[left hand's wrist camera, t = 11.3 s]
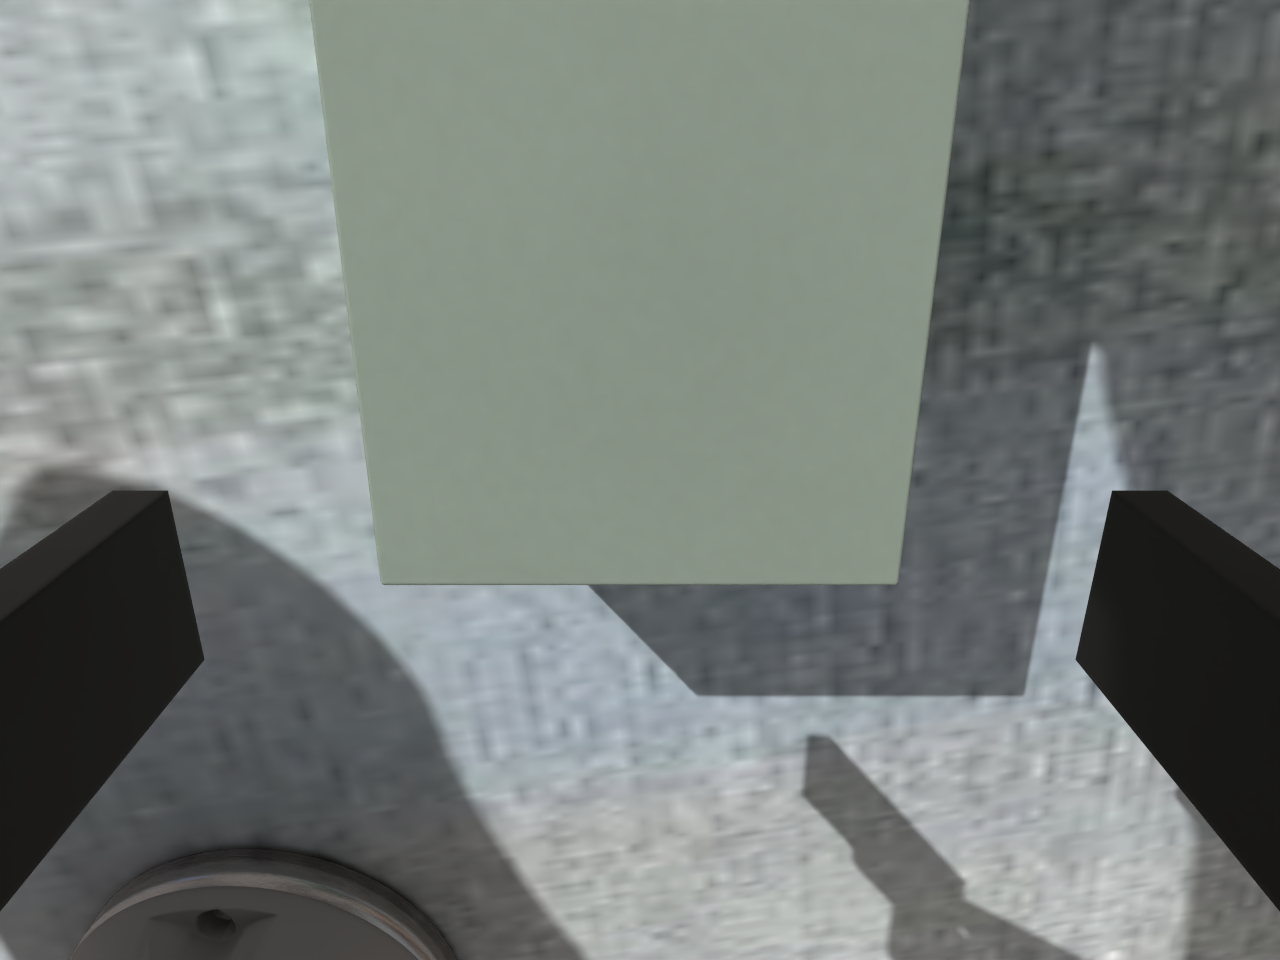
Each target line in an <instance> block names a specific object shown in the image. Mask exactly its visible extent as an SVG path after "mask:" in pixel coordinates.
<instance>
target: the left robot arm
mask: <svg viewBox="0 0 1280 960" xmlns="http://www.w3.org/2000/svg"><path fill="white" fill-rule="evenodd" d="M203 661H204V656H203V651H202V646H201V642H200V637H199V633H198V628H197V623H196V619H195V614H194V609H193V605H192V600H191V596H190V591H189V586H188V582H187V577H186V572H185V568H184V563H183V559H182V554H181V549H180V545H179V540H178V535H177V531H176V526H175V522H174V517H173V512H172V508H171V503H170V498H169V494H168V491H112V492H110V493H109V494H107V495H106V496H104V497H103V498H102V499H100V500H99V501H97V502H96V503H94V504H93V505H92V506H90V507H89V508H87V509H86V510H84V511H83V512H82V513H80V514H79V515H77V516H76V517H74V518H73V519H72V520H70V521H69V522H67V523H66V524H64V525H63V526H62V527H60V528H59V529H57V530H56V531H54V532H53V533H52V534H50V535H49V536H47V537H46V538H44V539H43V540H41V541H40V542H39V543H37V544H36V545H34V546H33V547H31V548H30V549H29V550H27V551H26V552H24V553H23V554H21V555H20V556H19V557H17V558H16V559H14V560H13V561H11V562H10V563H9V564H7V565H6V566H4V567H3V568H1V569H0V911H1V910H2V909H3V907H4V906H5V905H6V904H7V902H8V901H9V900H10V899H11V897H12V896H13V895H14V894H15V893H16V891H17V890H18V889H19V888H20V886H21V885H22V884H23V883H24V881H25V880H26V879H27V878H28V877H29V875H30V874H31V873H32V872H33V870H34V869H35V868H36V867H37V865H38V864H39V863H40V862H41V860H42V859H43V858H44V857H45V856H46V854H47V853H48V852H49V851H50V849H51V848H52V847H53V846H54V844H55V843H56V842H57V841H58V839H59V838H60V837H61V836H62V835H63V833H64V832H65V831H66V830H67V828H68V827H69V826H70V825H71V823H72V822H73V821H74V820H75V819H76V817H77V816H78V815H79V814H80V812H81V811H82V810H83V809H84V807H85V806H86V805H87V804H88V802H89V801H90V800H91V799H92V798H93V796H94V795H95V794H96V793H97V791H98V790H99V789H100V788H101V786H102V785H103V784H104V783H105V782H106V780H107V779H108V778H109V777H110V775H111V774H112V773H113V772H114V770H115V769H116V768H117V767H118V765H119V764H120V763H121V762H122V761H123V759H124V758H125V757H126V756H127V754H128V753H129V752H130V751H131V749H132V748H133V747H134V746H135V745H136V743H137V742H138V741H139V740H140V738H141V737H142V736H143V735H144V733H145V732H146V731H147V730H148V728H149V727H150V726H151V725H152V724H153V722H154V721H155V720H156V719H157V717H158V716H159V715H160V714H161V712H162V711H163V710H164V709H165V708H166V706H167V705H168V704H169V703H170V701H171V700H172V699H173V698H174V696H175V695H176V694H177V693H178V691H179V690H180V689H181V688H182V687H183V685H184V684H185V683H186V682H187V680H188V679H189V678H190V677H191V675H192V674H193V673H194V672H195V671H196V669H197V668H198V667H199V666H200V664H201V663H202V662H203ZM1076 661H1077V662H1078V663H1079V664H1080V666H1081V667H1082V668H1083V669H1084V671H1085V672H1086V673H1087V674H1088V675H1089V677H1090V678H1091V679H1092V680H1093V682H1094V683H1095V684H1096V685H1097V687H1098V688H1099V689H1100V690H1101V691H1102V693H1103V694H1104V695H1105V696H1106V698H1107V699H1108V700H1109V701H1110V703H1111V704H1112V705H1113V706H1114V708H1115V709H1116V710H1117V711H1118V712H1119V714H1120V715H1121V716H1122V717H1123V719H1124V720H1125V721H1126V722H1127V724H1128V725H1129V726H1130V727H1131V728H1132V730H1133V731H1134V732H1135V733H1136V735H1137V736H1138V737H1139V738H1140V740H1141V741H1142V742H1143V743H1144V745H1145V746H1146V747H1147V748H1148V749H1149V751H1150V752H1151V753H1152V754H1153V756H1154V757H1155V758H1156V759H1157V761H1158V762H1159V763H1160V764H1161V765H1162V767H1163V768H1164V769H1165V770H1166V772H1167V773H1168V774H1169V775H1170V777H1171V778H1172V779H1173V780H1174V782H1175V783H1176V784H1177V785H1178V786H1179V788H1180V789H1181V790H1182V791H1183V793H1184V794H1185V795H1186V796H1187V798H1188V799H1189V800H1190V801H1191V802H1192V804H1193V805H1194V806H1195V807H1196V809H1197V810H1198V811H1199V812H1200V814H1201V815H1202V816H1203V817H1204V819H1205V820H1206V821H1207V822H1208V823H1209V825H1210V826H1211V827H1212V828H1213V830H1214V831H1215V832H1216V833H1217V835H1218V836H1219V837H1220V838H1221V839H1222V841H1223V842H1224V843H1225V844H1226V846H1227V847H1228V848H1229V849H1230V851H1231V852H1232V853H1233V854H1234V856H1235V857H1236V858H1237V859H1238V860H1239V862H1240V863H1241V864H1242V865H1243V867H1244V868H1245V869H1246V870H1247V872H1248V873H1249V874H1250V875H1251V877H1252V878H1253V879H1254V880H1255V881H1256V883H1257V884H1258V885H1259V886H1260V888H1261V889H1262V890H1263V891H1264V893H1265V894H1266V895H1267V896H1268V897H1269V899H1270V900H1271V901H1272V902H1273V904H1274V905H1275V906H1276V907H1277V909H1278V910H1279V911H1280V569H1279V568H1277V567H1276V566H1274V565H1273V564H1271V563H1270V562H1269V561H1267V560H1266V559H1264V558H1263V557H1261V556H1260V555H1259V554H1257V553H1256V552H1254V551H1253V550H1251V549H1250V548H1249V547H1247V546H1246V545H1244V544H1243V543H1241V542H1240V541H1239V540H1237V539H1236V538H1234V537H1233V536H1231V535H1230V534H1228V533H1227V532H1226V531H1224V530H1223V529H1221V528H1220V527H1218V526H1217V525H1216V524H1214V523H1213V522H1211V521H1210V520H1208V519H1207V518H1206V517H1204V516H1203V515H1201V514H1200V513H1198V512H1197V511H1196V510H1194V509H1193V508H1191V507H1190V506H1188V505H1187V504H1186V503H1184V502H1183V501H1181V500H1180V499H1178V498H1177V497H1176V496H1174V495H1173V494H1171V493H1170V492H1168V491H1112V494H1111V498H1110V503H1109V508H1108V512H1107V517H1106V522H1105V526H1104V531H1103V535H1102V540H1101V545H1100V549H1099V554H1098V559H1097V563H1096V568H1095V572H1094V577H1093V582H1092V586H1091V591H1090V596H1089V600H1088V605H1087V609H1086V614H1085V619H1084V623H1083V628H1082V633H1081V637H1080V642H1079V646H1078V651H1077V656H1076ZM69 960H456V958H455V956H454V954H453V952H452V950H451V948H450V947H449V945H448V944H447V942H446V941H445V939H444V937H443V936H442V935H441V934H440V932H439V931H438V930H437V929H436V928H435V926H434V925H433V924H432V923H431V922H430V921H429V920H428V919H427V918H426V917H425V916H424V915H423V914H422V913H421V912H420V911H419V910H418V909H416V908H415V907H414V906H413V905H412V904H410V903H409V902H408V901H407V900H405V899H404V898H402V897H401V896H400V895H398V894H397V893H395V892H394V891H392V890H391V889H389V888H387V887H386V886H384V885H382V884H381V883H379V882H377V881H375V880H373V879H371V878H369V877H367V876H365V875H363V874H361V873H359V872H356V871H354V870H351V869H349V868H346V867H344V866H341V865H338V864H335V863H332V862H329V861H326V860H322V859H319V858H315V857H310V856H306V855H302V854H296V853H290V852H284V851H275V850H264V849H231V850H218V851H211V852H204V853H199V854H195V855H190V856H186V857H182V858H179V859H176V860H173V861H170V862H167V863H164V864H162V865H160V866H157V867H155V868H153V869H151V870H149V871H147V872H145V873H143V874H142V875H140V876H138V877H136V878H135V879H133V880H132V881H131V882H129V883H128V884H127V885H125V886H124V887H122V888H121V889H120V890H119V891H118V892H117V893H116V894H115V895H114V896H113V897H112V898H111V899H110V900H109V901H108V903H107V904H106V905H105V906H104V907H103V909H102V910H101V911H100V913H99V914H98V916H97V917H96V919H95V920H94V922H93V923H92V925H91V926H90V928H89V929H88V930H87V932H86V933H85V935H84V936H83V938H82V939H81V941H80V942H79V944H78V945H77V947H76V948H75V950H74V951H73V953H72V955H71V956H70V958H69Z"/></svg>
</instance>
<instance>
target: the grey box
mask: <svg viewBox="0 0 1280 960" xmlns="http://www.w3.org/2000/svg"><path fill="white" fill-rule="evenodd" d="M309 2H310V10H311V19H312V27H313V35H314V43H315V51H316V59H317V67H318V75H319V84H320V92H321V100H322V108H323V116H324V124H325V132H326V140H327V149H328V157H329V165H330V173H331V181H332V189H333V197H334V205H335V214H336V222H337V230H338V238H339V246H340V254H341V262H342V270H343V279H344V287H345V295H346V303H347V311H348V319H349V327H350V335H351V344H352V352H353V360H354V368H355V376H356V384H357V392H358V401H359V409H360V417H361V425H362V433H363V441H364V449H365V457H366V466H367V474H368V482H369V490H370V498H371V506H372V514H373V522H374V531H375V539H376V547H377V555H378V563H379V571H380V579H381V583H382V584H384V585H896V584H898V581H899V574H900V566H901V558H902V550H903V542H904V533H905V525H906V517H907V509H908V501H909V493H910V485H911V477H912V469H913V460H914V452H915V444H916V436H917V428H918V420H919V412H920V404H921V395H922V387H923V379H924V371H925V363H926V355H927V347H928V339H929V330H930V322H931V314H932V306H933V298H934V290H935V282H936V274H937V266H938V257H939V249H940V241H941V233H942V225H943V217H944V209H945V201H946V192H947V184H948V176H949V168H950V160H951V152H952V144H953V136H954V128H955V119H956V111H957V103H958V95H959V87H960V79H961V71H962V63H963V54H964V46H965V38H966V30H967V22H968V14H969V6H970V0H309Z"/></svg>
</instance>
